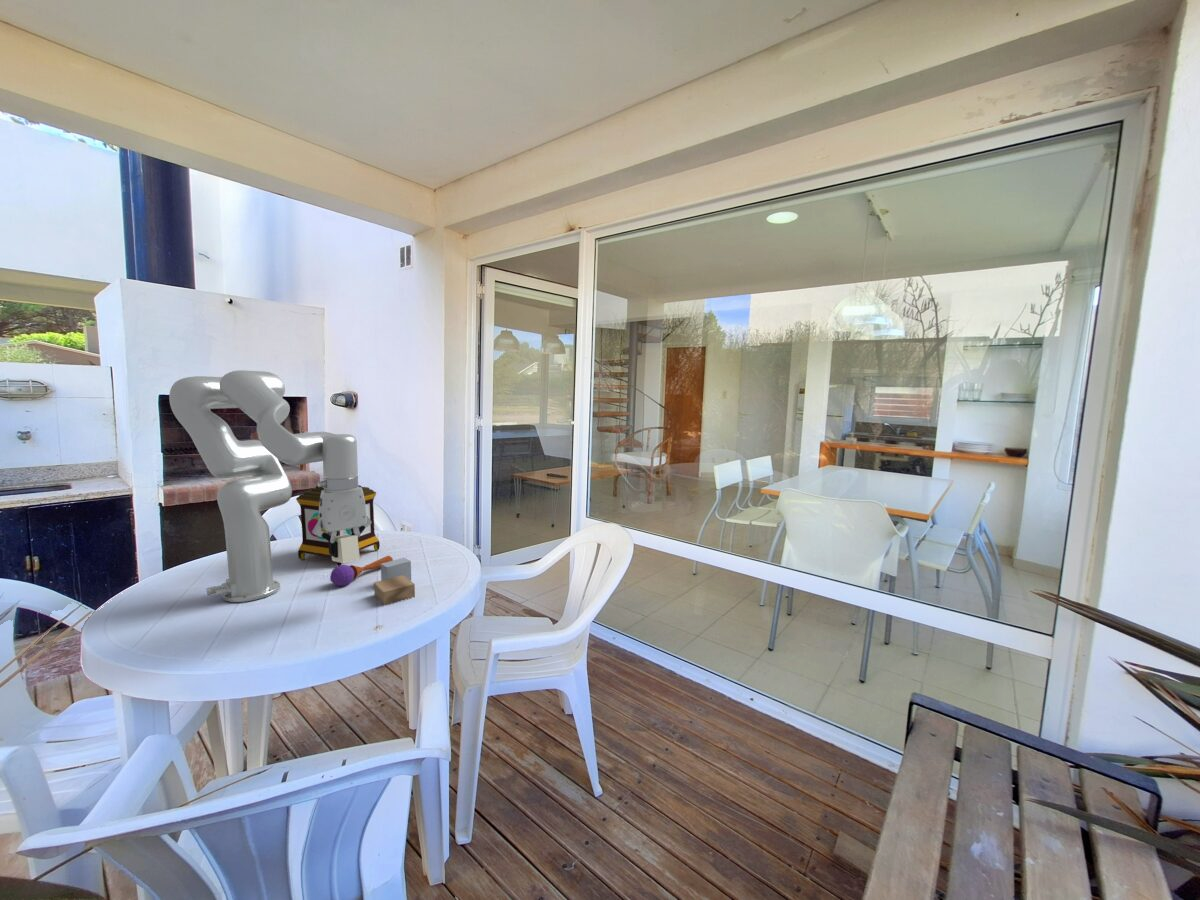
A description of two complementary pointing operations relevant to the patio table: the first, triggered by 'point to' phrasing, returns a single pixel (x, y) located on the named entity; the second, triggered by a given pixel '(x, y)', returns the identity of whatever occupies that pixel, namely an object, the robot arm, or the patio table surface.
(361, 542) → the decorative lantern
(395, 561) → the slate grey brick
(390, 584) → the walnut block
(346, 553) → the cream brick
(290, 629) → the patio table surface
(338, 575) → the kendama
